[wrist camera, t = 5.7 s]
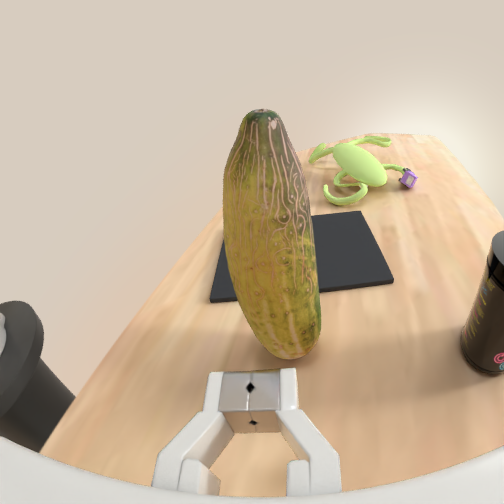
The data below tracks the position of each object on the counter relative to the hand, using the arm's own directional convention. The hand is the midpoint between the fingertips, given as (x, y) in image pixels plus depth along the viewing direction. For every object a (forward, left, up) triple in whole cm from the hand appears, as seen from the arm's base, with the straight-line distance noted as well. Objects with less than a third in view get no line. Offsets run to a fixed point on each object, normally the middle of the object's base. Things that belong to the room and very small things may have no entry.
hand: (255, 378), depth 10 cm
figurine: (+16, +51, -13) cm, 55 cm away
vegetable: (0, +12, -13) cm, 17 cm away
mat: (+2, +27, -13) cm, 30 cm away
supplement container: (+19, +8, -13) cm, 24 cm away
